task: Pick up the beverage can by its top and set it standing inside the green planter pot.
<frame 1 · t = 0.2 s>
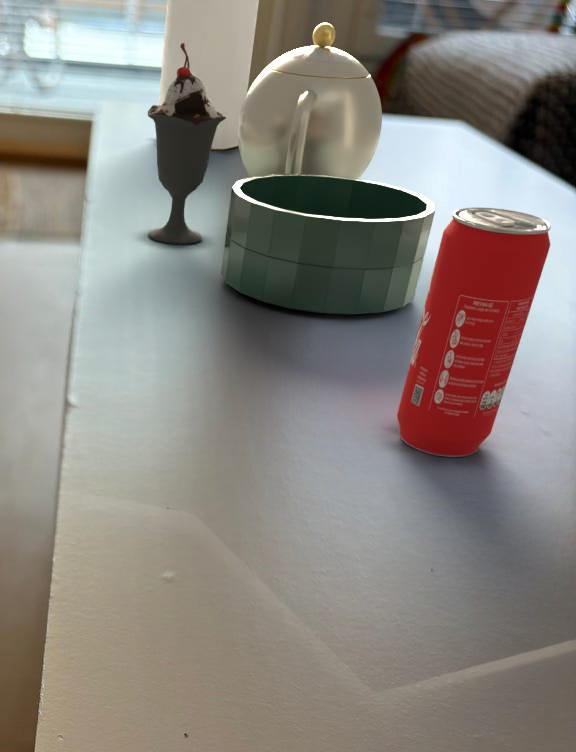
beverage can: (437, 443, 56), on the table
green planter pot: (315, 288, 78), on the table
teapot: (292, 218, 98), on the table
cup: (197, 144, 128), on the table
sundae: (174, 239, 89), on the table
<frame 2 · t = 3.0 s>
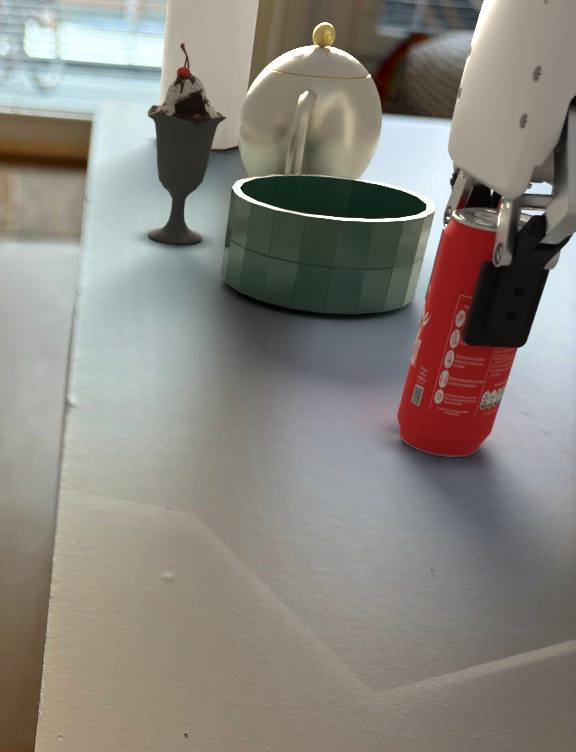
hand: (472, 321, 52), 7 cm above the table, tool pointing down, fingers closed on beverage can, 5 cm apart
beverage can: (437, 443, 56), on the table, touching gripper
everything else where it was.
when the fingers open (7 cm above the table, at t = 11.0 s): beverage can stays where it is, resting on green planter pot.
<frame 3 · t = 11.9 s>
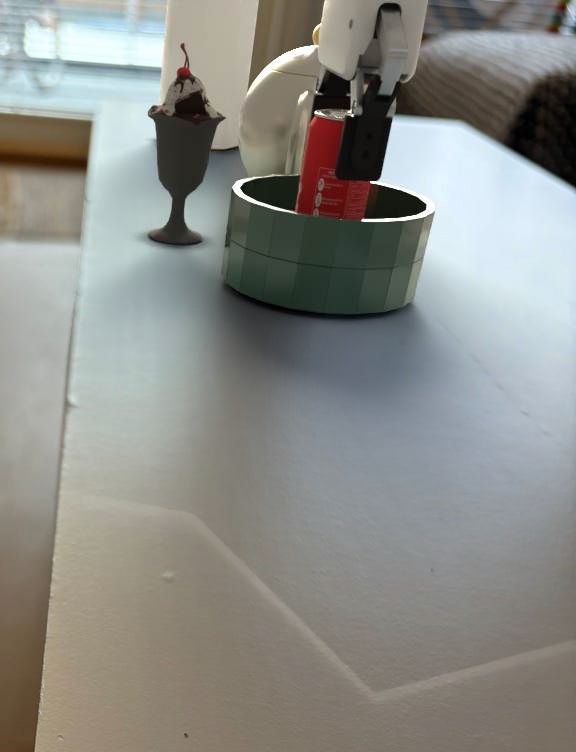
hand: (340, 165, 73), 9 cm above the table, tool pointing down, fingers open, 9 cm apart
beverage can: (316, 284, 78), resting on green planter pot
everything else where it was.
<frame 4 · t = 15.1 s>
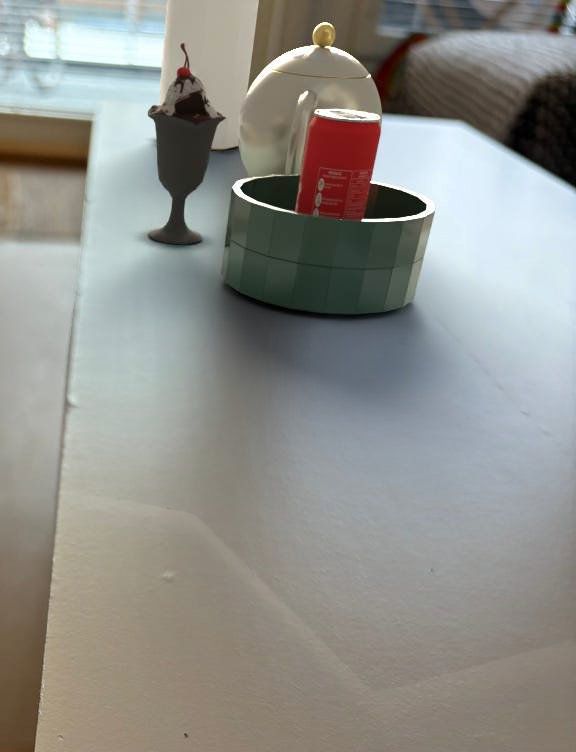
nothing on the table moved.
at the end: beverage can inside the target area in the green planter pot (0.0 cm from its centre), point 0.3 cm above the green planter pot's base; beverage can tilted 0°; the gripper is holding nothing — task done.
